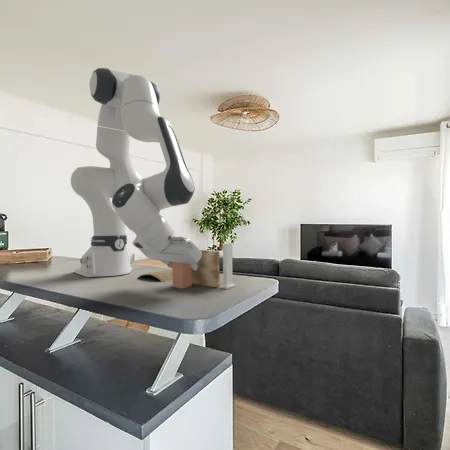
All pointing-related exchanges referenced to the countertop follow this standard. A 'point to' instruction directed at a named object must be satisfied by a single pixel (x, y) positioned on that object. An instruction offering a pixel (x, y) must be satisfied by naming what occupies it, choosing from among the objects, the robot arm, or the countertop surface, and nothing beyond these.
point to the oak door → (207, 269)
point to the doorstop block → (181, 275)
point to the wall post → (227, 266)
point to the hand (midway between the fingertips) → (183, 267)
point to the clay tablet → (160, 275)
